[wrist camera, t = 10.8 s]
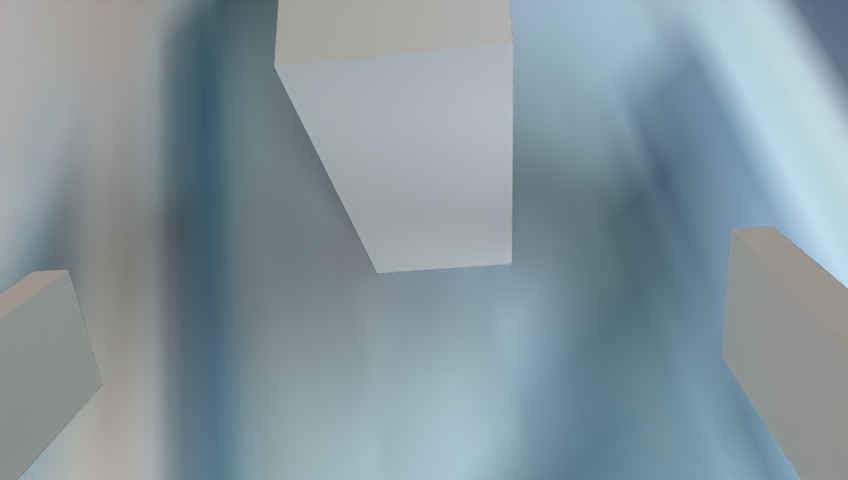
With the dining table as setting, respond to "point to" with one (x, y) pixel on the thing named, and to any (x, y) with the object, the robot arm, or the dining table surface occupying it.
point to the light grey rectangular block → (409, 121)
